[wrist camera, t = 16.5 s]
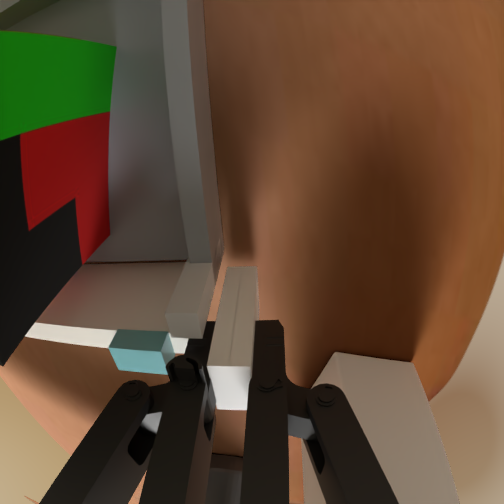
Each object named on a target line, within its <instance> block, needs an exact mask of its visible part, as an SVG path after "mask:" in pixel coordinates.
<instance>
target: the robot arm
mask: <svg viewBox="0 0 504 504" xmlns="http://www.w3.org/2000/svg"><path fill="white" fill-rule="evenodd" d="M165 368H166V371H167V373H168V376H169V379H170V382H168V383H166V384H162V385H157V386H151V387H149V386H148V385H147V384H146V383H145V382H143V381H140V380H132V381H128V382H126V383H124V384H123V385H122V386H121V387H120V388H119V389H118V390H117V392H116V393H115V395H114V396H113V397H112V399H111V400H110V402H109V403H108V404H107V406H106V407H105V409H104V410H103V411H102V413H101V414H100V416H99V417H98V418H97V420H96V421H95V423H94V424H93V426H92V427H91V428H90V430H89V431H88V433H87V434H86V436H85V437H84V438H83V440H82V441H81V443H80V444H79V446H78V447H77V448H76V450H75V451H74V453H73V454H72V456H71V457H70V459H69V460H68V462H67V463H66V464H65V466H64V467H63V469H62V470H61V472H60V473H59V475H58V476H57V478H56V479H55V481H54V482H53V484H52V485H51V487H50V488H49V490H48V491H47V493H46V494H45V496H44V497H43V499H42V500H41V502H40V503H39V504H128V502H129V501H130V499H131V497H132V495H133V493H134V492H135V490H136V488H137V486H138V485H139V483H140V481H141V479H142V477H143V476H144V474H145V472H146V470H147V472H146V476H145V480H144V484H143V489H142V493H141V497H140V501H139V504H289V448H288V435H290V436H294V437H298V438H302V439H303V441H304V444H305V447H306V450H307V452H308V455H309V458H310V461H311V463H312V466H313V469H314V472H315V474H316V477H317V480H318V483H319V485H320V488H321V491H322V493H323V496H324V499H325V501H326V504H399V503H398V500H397V498H396V496H395V494H394V492H393V490H392V488H391V486H390V484H389V482H388V480H387V478H386V476H385V474H384V472H383V470H382V468H381V466H380V464H379V462H378V460H377V458H376V456H375V454H374V451H373V449H372V447H371V445H370V443H369V441H368V439H367V437H366V435H365V433H364V431H363V429H362V427H361V425H360V423H359V421H358V419H357V417H356V416H355V414H354V412H353V410H352V408H351V406H350V404H349V402H348V400H347V398H346V396H345V394H344V392H343V391H342V390H341V389H340V388H339V387H337V386H335V385H333V384H328V383H326V384H319V385H317V386H314V387H313V388H312V389H308V388H304V387H300V386H297V385H295V384H294V383H292V382H291V381H290V380H289V379H288V377H287V375H286V370H285V347H284V328H283V326H282V325H281V323H280V322H279V320H259V292H258V273H257V266H240V267H227V271H226V276H225V280H224V285H223V290H222V294H221V299H220V304H219V309H218V313H217V318H216V321H206V326H205V330H204V334H203V338H202V339H197V338H189V339H188V342H187V346H186V350H185V353H184V355H180V356H177V357H175V358H173V359H171V360H170V361H169V362H168V363H167V365H166V367H165ZM215 406H217V409H222V410H247V415H246V429H245V442H244V456H243V458H241V457H234V456H226V455H215V454H212V446H213V439H214V432H215V425H216V417H215V413H214V412H215Z"/></svg>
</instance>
